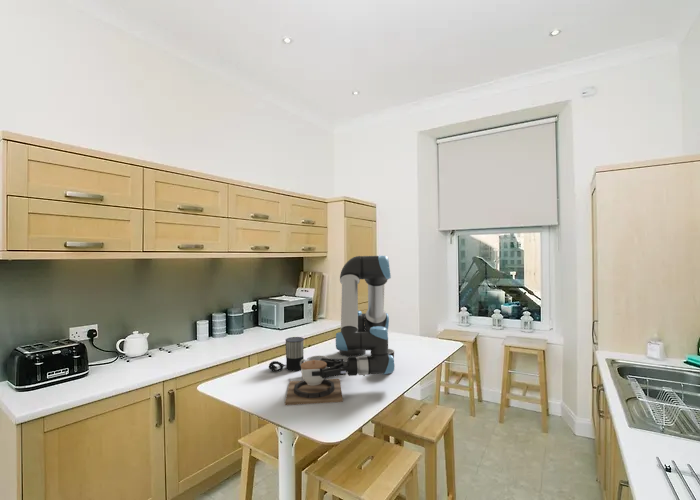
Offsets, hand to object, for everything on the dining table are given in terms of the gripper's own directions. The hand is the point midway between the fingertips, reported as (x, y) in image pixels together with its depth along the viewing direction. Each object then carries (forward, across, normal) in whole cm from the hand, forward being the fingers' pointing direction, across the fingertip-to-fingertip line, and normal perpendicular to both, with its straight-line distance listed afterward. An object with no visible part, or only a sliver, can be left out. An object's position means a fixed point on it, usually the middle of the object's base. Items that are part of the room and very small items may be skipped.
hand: (304, 368), depth 142 cm
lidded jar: (-4, 0, -6) cm, 7 cm away
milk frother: (+10, +30, -10) cm, 34 cm away
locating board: (-4, 0, -10) cm, 11 cm away
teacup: (-4, +19, -10) cm, 22 cm away
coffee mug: (-38, +20, -10) cm, 44 cm away
